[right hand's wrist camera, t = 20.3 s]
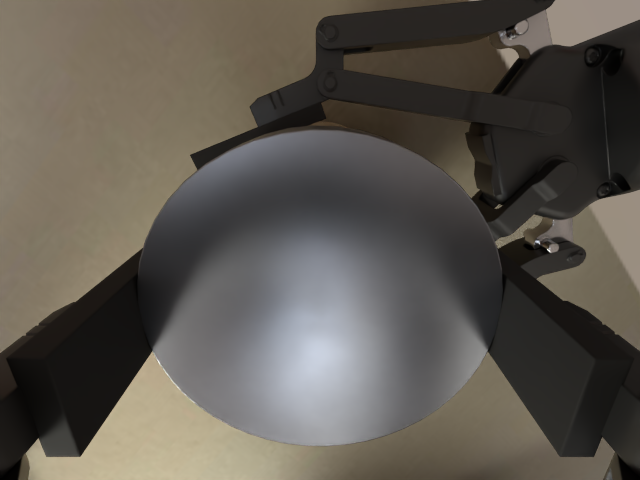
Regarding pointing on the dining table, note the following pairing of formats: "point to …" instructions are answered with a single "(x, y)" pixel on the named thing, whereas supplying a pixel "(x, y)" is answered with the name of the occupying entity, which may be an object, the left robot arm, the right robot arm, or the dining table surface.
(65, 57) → the dining table surface
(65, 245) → the dining table surface
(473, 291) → the lid
